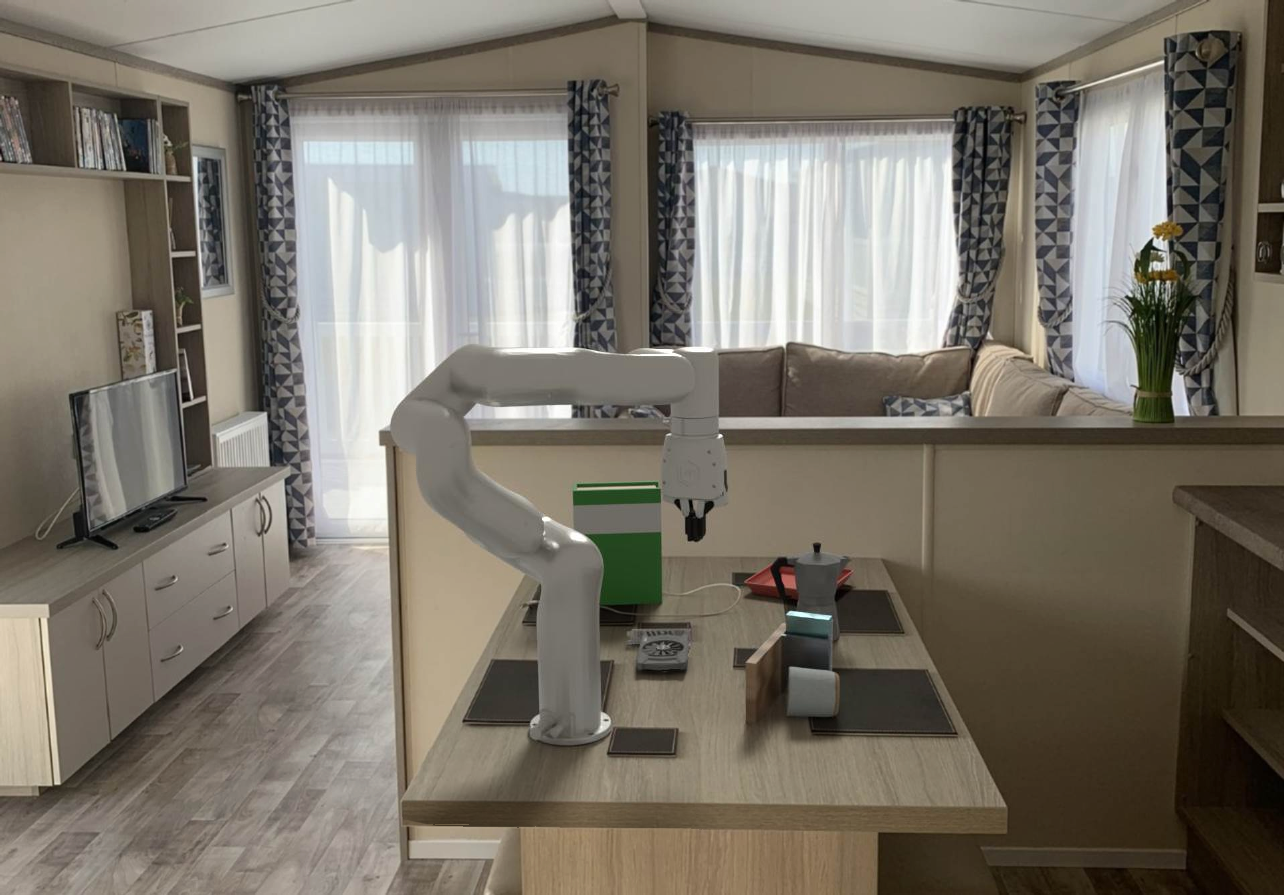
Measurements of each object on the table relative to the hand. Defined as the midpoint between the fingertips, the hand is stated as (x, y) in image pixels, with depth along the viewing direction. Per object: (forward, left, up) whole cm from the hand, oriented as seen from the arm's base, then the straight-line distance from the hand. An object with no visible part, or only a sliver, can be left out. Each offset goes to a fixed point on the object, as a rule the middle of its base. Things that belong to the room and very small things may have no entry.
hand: (695, 539), depth 198 cm
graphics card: (+16, +13, -28) cm, 34 cm away
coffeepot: (+37, -9, -27) cm, 47 cm away
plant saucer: (+65, +1, -28) cm, 71 cm away
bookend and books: (+11, -16, -27) cm, 33 cm away
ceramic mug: (+2, -18, -27) cm, 33 cm away
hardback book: (+45, +34, -27) cm, 63 cm away
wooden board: (+4, -11, -27) cm, 30 cm away
